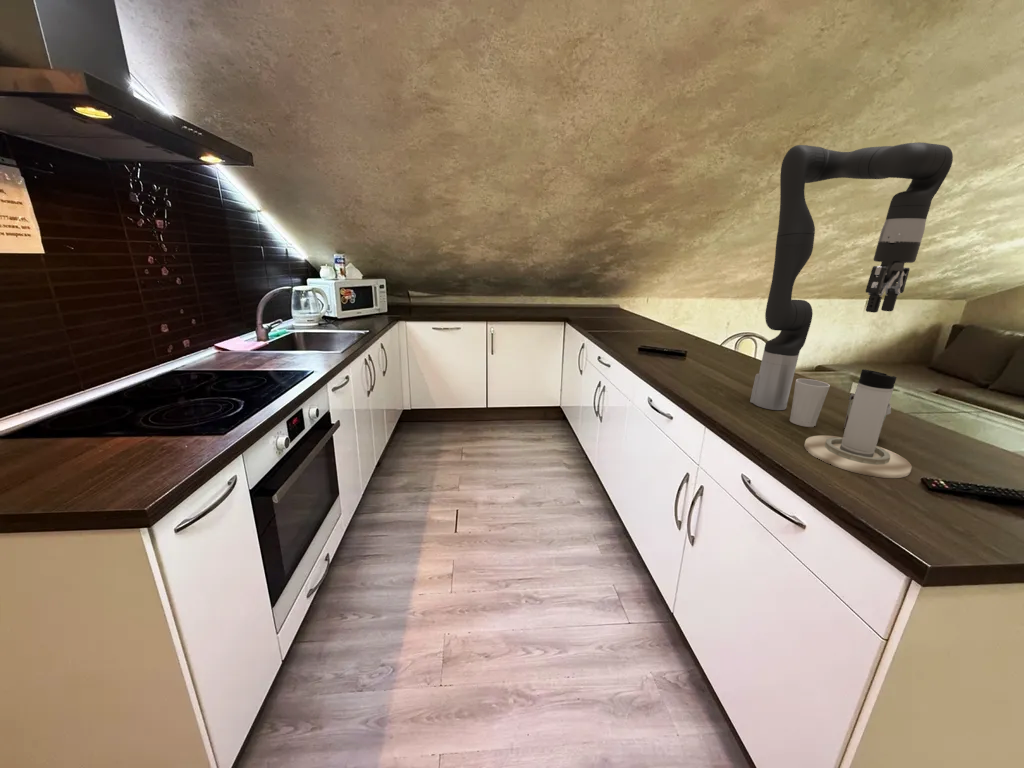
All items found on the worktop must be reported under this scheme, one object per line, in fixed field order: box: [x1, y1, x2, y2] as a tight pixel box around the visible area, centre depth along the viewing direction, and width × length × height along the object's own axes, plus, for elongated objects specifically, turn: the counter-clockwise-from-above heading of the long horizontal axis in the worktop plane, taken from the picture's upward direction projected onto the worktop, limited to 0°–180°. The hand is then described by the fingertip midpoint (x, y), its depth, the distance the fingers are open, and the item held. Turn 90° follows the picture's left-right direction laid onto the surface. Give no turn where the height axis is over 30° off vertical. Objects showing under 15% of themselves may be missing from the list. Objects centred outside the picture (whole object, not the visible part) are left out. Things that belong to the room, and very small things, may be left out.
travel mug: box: [840, 369, 897, 457], centre depth 99 cm, size 6×7×20 cm
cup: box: [789, 378, 831, 428], centre depth 122 cm, size 8×8×12 cm
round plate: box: [803, 435, 913, 479], centre depth 102 cm, size 20×20×2 cm
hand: (879, 311), depth 104 cm, fingers open, 8 cm apart
